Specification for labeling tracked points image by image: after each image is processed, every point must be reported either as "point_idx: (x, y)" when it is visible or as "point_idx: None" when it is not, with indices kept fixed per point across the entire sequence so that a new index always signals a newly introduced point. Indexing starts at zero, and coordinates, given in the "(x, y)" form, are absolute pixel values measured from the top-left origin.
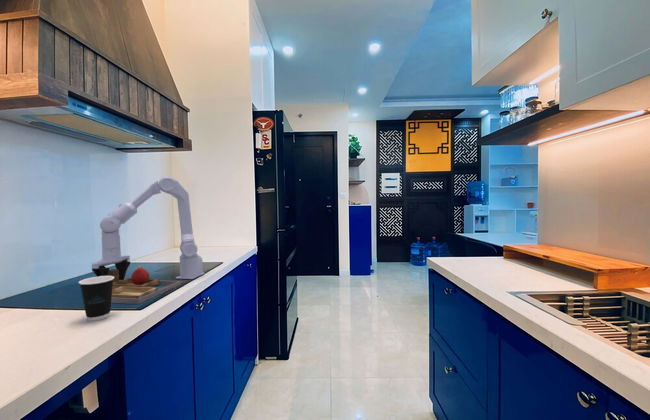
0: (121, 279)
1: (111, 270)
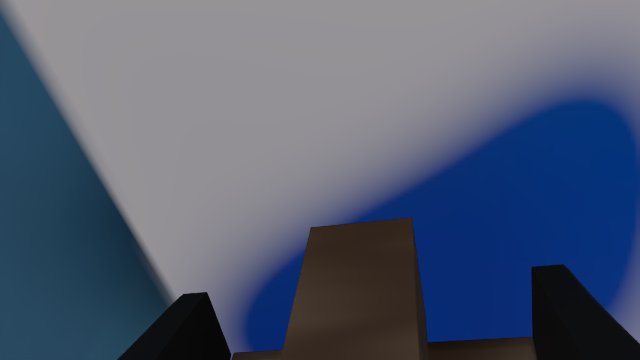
0: (533, 331)
1: None
